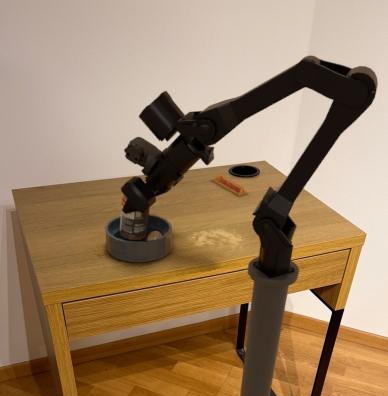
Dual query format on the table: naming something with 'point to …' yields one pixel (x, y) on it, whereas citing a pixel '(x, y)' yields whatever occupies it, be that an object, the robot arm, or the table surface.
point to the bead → (154, 235)
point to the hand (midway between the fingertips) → (130, 206)
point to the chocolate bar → (229, 185)
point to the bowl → (139, 241)
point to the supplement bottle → (133, 223)
